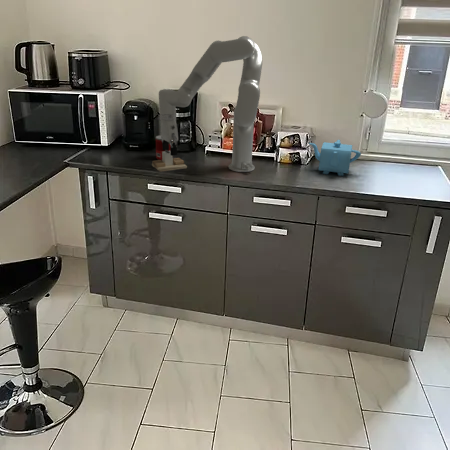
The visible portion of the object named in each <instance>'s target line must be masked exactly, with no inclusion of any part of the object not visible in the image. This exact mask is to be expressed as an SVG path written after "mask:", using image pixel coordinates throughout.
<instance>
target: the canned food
mask: <svg viewBox="0 0 450 450" xmlns="http://www.w3.org/2000/svg"><path fill="white" fill-rule="evenodd" d="M171 141H172V140H171ZM170 147H171V145H170V143H169V150H168V151H170ZM164 151H165V150H164ZM162 152H163V149H162V138H161V134H160V135H156V136H155V158H156V159H157V160H161V161H162Z"/></svg>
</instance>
